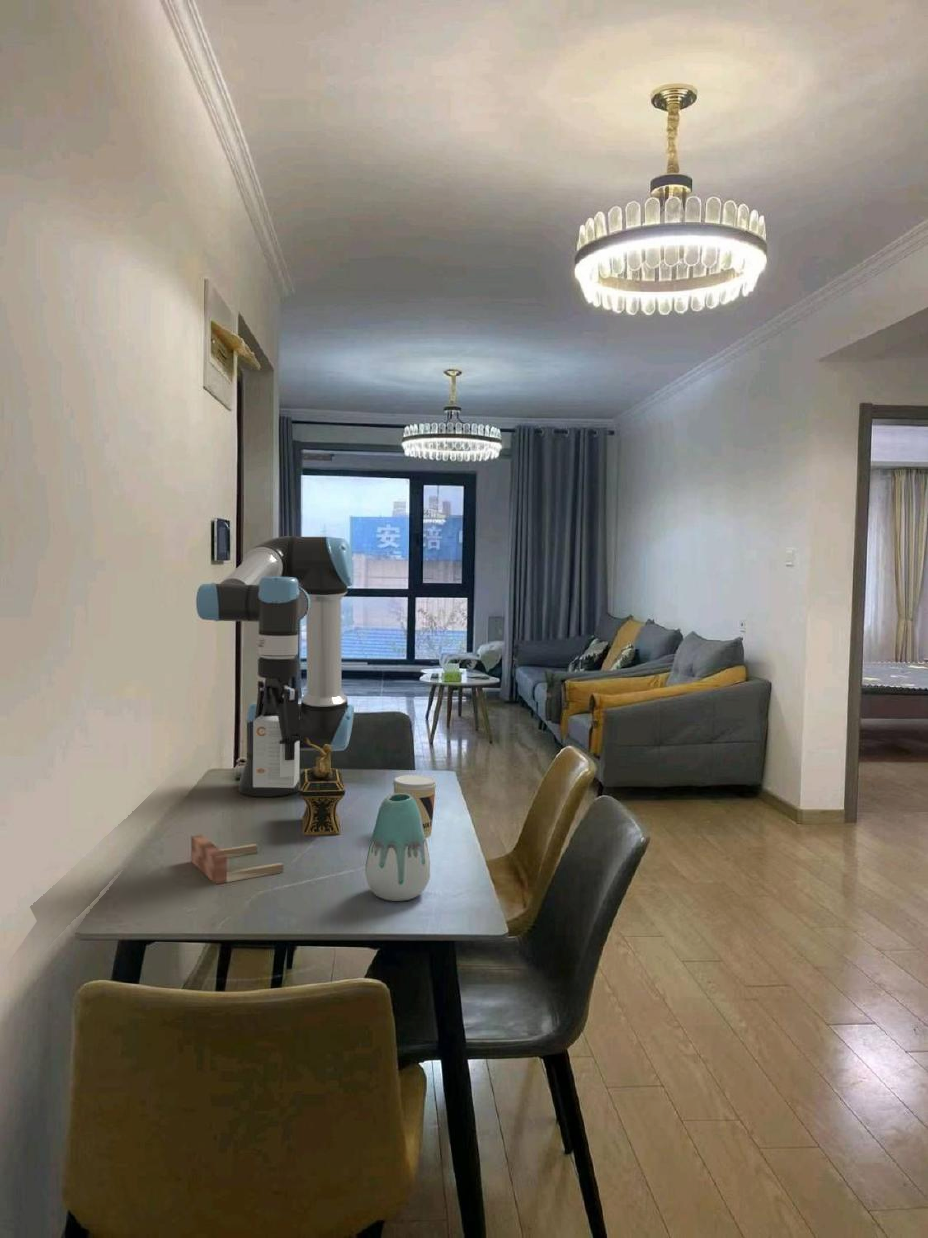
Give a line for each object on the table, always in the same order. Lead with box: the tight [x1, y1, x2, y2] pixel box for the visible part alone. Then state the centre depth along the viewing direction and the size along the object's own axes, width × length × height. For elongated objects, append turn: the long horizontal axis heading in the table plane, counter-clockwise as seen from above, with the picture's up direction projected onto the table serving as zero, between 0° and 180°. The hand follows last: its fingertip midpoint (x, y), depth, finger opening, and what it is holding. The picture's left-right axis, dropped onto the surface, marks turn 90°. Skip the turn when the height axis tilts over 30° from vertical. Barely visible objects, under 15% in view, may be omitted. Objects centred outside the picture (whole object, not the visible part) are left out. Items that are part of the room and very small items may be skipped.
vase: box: [364, 793, 431, 902], centre depth 165 cm, size 12×12×18 cm
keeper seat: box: [190, 834, 284, 885], centre depth 178 cm, size 14×13×5 cm
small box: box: [253, 716, 300, 788], centre depth 181 cm, size 8×6×13 cm
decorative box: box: [299, 738, 346, 837], centre depth 203 cm, size 20×10×20 cm, turn 10°
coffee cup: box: [392, 774, 437, 839], centre depth 202 cm, size 9×9×12 cm
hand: (276, 771), depth 181 cm, fingers closed on small box, 9 cm apart
